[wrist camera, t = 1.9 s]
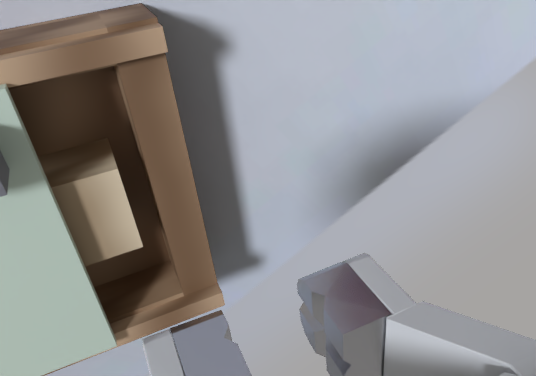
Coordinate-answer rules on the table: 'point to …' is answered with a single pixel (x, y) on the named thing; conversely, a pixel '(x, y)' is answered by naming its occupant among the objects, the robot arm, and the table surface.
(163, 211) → the brown wooden shallow box
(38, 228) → the cover
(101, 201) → the oak block
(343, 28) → the table surface
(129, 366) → the table surface
